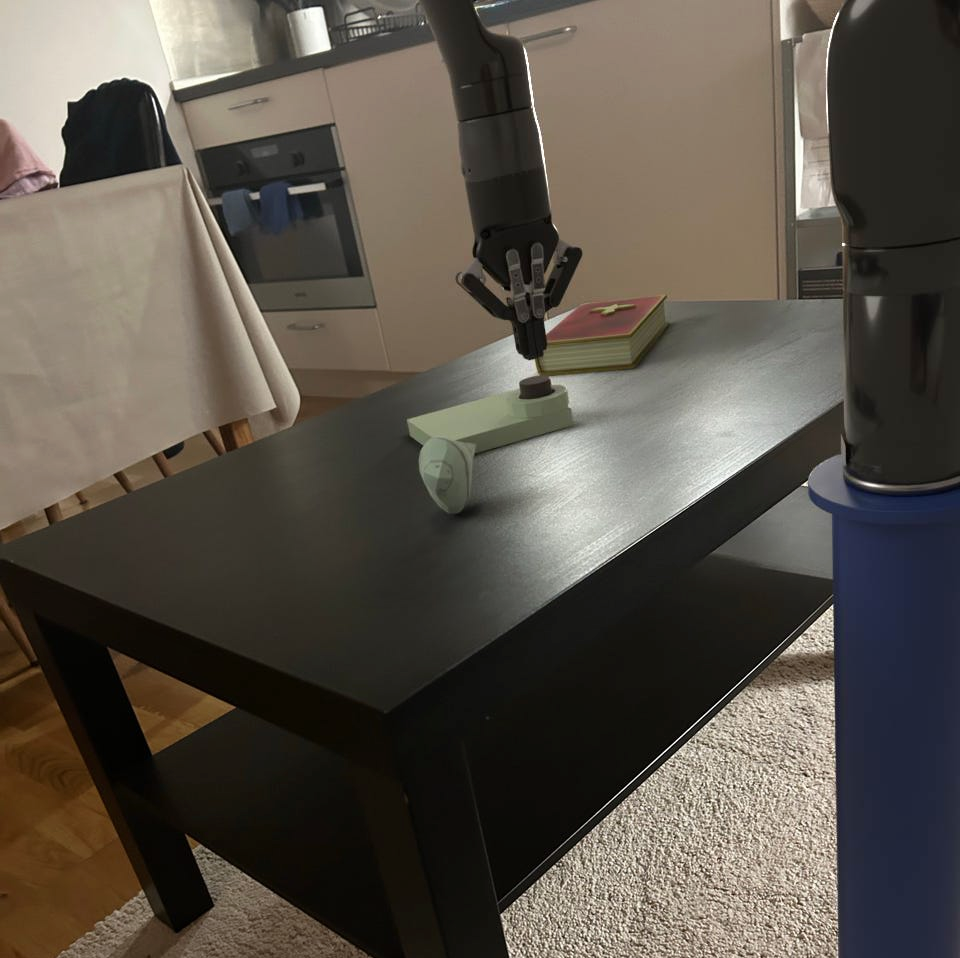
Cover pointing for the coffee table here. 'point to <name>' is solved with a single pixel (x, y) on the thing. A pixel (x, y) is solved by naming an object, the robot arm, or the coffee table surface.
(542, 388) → the button
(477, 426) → the pale green flat block
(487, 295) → the robot arm
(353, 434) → the coffee table surface
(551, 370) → the hardcover book
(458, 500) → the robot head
